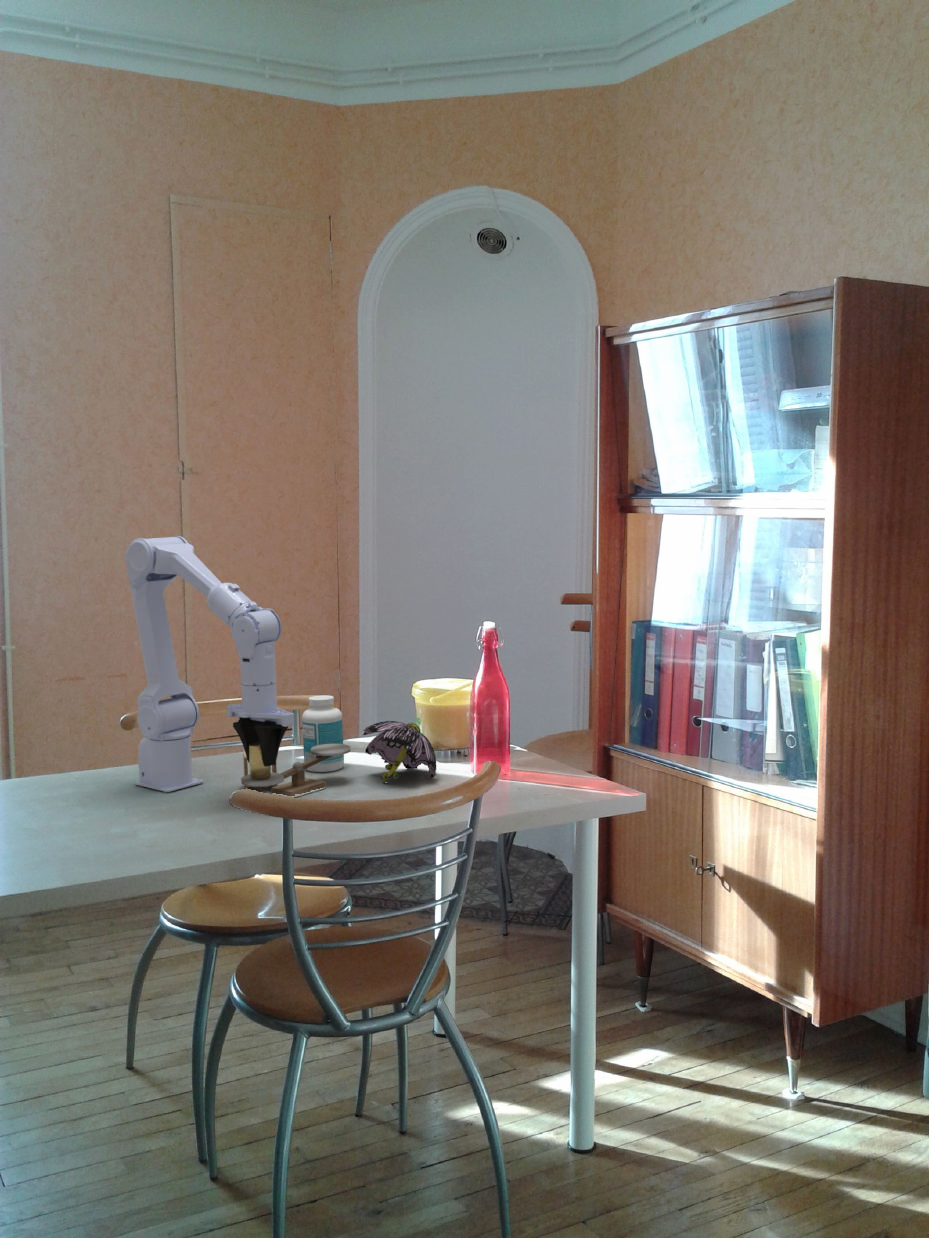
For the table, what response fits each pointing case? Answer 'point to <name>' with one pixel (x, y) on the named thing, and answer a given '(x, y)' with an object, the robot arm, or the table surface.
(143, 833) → the table surface
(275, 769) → the small wooden stool
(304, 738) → the pill bottle
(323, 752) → the balance
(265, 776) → the cylinder
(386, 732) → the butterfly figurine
